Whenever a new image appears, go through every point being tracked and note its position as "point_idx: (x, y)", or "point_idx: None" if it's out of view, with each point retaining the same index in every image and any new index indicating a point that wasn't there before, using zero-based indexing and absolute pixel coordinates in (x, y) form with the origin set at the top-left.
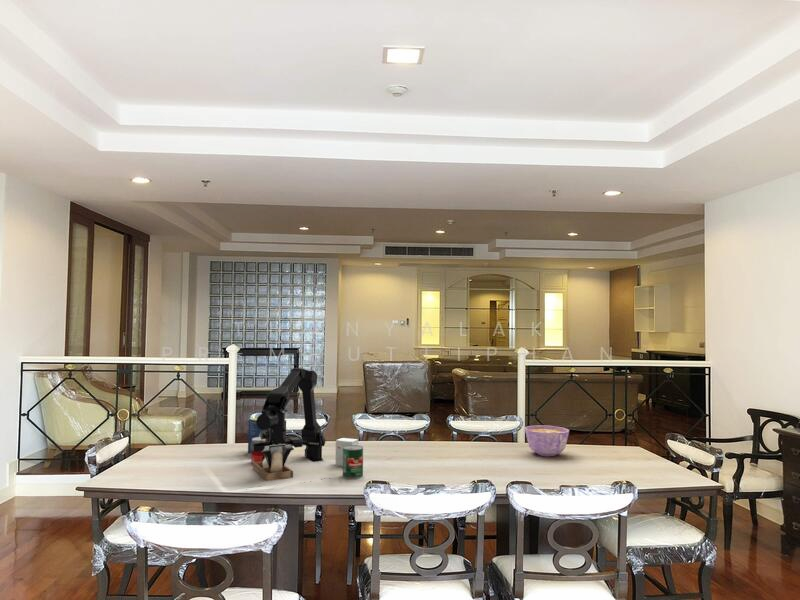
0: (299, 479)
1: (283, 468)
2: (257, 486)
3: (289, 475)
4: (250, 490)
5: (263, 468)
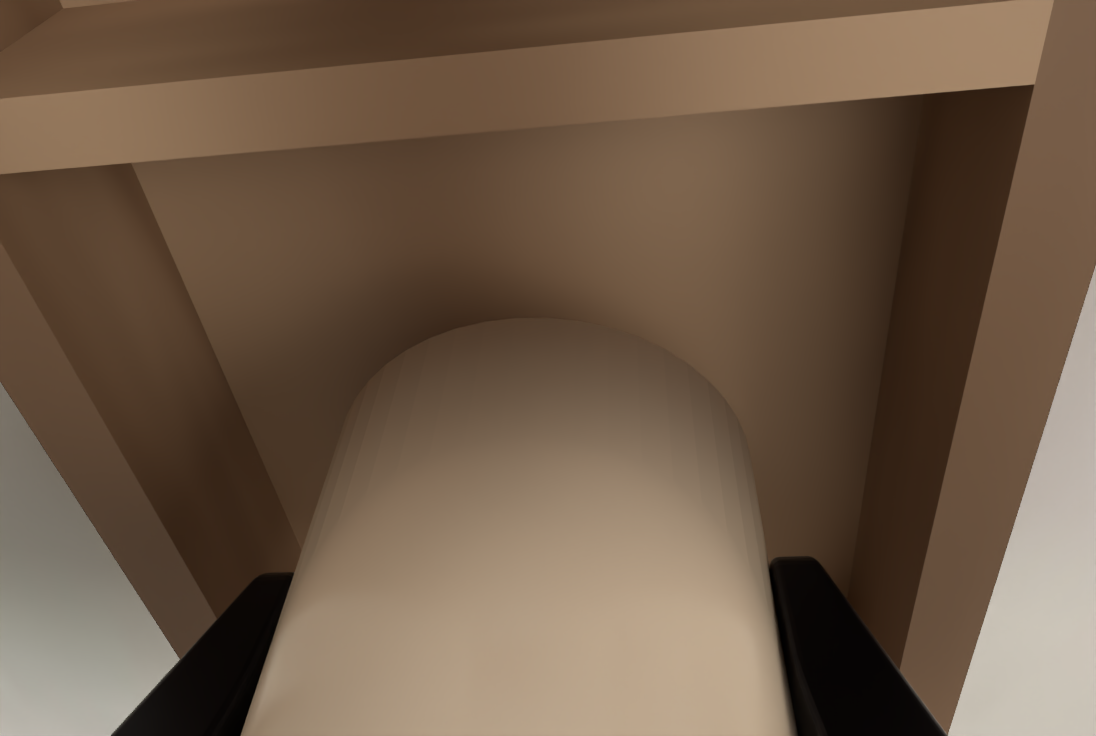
0: (1063, 527)
1: (976, 114)
2: (144, 629)
3: None
4: (65, 732)
5: (41, 154)
